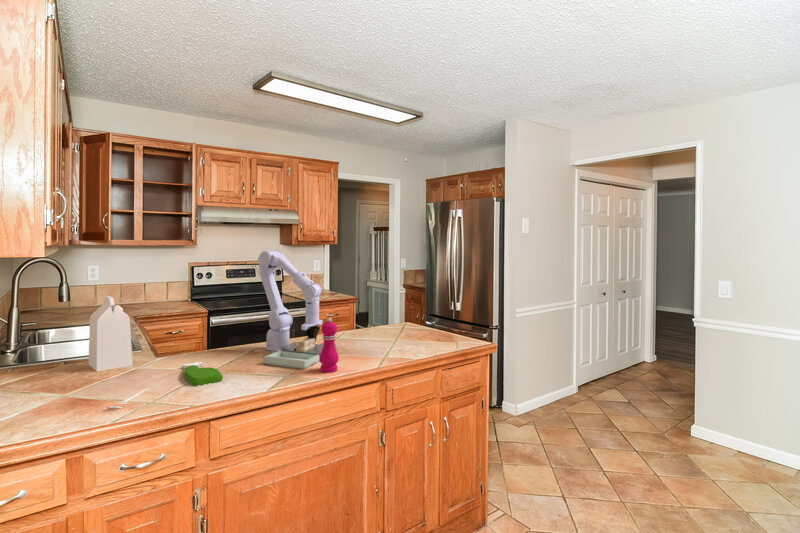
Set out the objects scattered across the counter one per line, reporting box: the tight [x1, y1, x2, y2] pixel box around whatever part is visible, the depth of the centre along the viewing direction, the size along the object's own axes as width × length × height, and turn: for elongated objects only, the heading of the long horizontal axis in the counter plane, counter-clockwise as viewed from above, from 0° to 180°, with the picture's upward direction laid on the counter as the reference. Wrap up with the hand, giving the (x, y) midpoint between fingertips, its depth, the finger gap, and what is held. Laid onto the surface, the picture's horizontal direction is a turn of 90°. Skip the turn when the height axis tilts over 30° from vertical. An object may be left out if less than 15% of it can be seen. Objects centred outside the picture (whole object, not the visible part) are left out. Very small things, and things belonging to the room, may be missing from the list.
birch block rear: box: [301, 337, 316, 348], centre depth 185 cm, size 4×4×4 cm
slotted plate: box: [281, 340, 337, 358], centre depth 186 cm, size 18×14×4 cm
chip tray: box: [263, 350, 320, 370], centre depth 174 cm, size 18×11×3 cm, turn 71°
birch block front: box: [295, 339, 310, 352], centre depth 182 cm, size 4×4×4 cm
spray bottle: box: [180, 361, 224, 387], centre depth 157 cm, size 3×11×24 cm
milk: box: [88, 295, 134, 372], centre depth 166 cm, size 12×12×26 cm
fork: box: [105, 387, 149, 409], centre depth 133 cm, size 3×20×2 cm, turn 1°
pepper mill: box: [319, 317, 340, 374], centre depth 165 cm, size 7×7×20 cm
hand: (312, 343), depth 189 cm, fingers closed
